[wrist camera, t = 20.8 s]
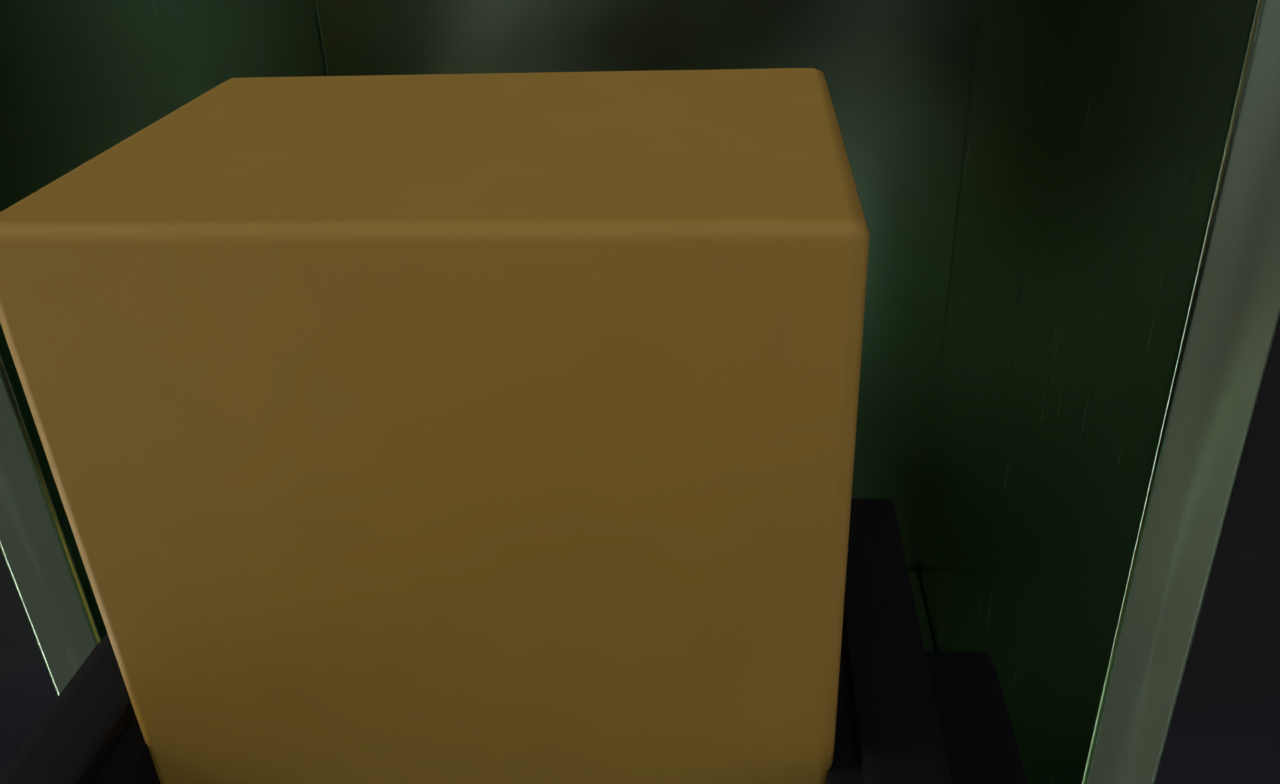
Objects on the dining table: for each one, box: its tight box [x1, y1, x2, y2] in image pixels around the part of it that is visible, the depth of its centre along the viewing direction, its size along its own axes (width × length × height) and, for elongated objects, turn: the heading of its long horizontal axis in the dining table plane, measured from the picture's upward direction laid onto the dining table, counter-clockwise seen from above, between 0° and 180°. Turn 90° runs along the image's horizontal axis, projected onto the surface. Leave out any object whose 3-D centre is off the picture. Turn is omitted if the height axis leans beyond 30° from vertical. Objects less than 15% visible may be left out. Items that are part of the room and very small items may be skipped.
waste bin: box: [0, 0, 1280, 784], centre depth 16 cm, size 16×13×11 cm
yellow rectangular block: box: [0, 68, 870, 784], centre depth 9 cm, size 10×4×3 cm, turn 2°
